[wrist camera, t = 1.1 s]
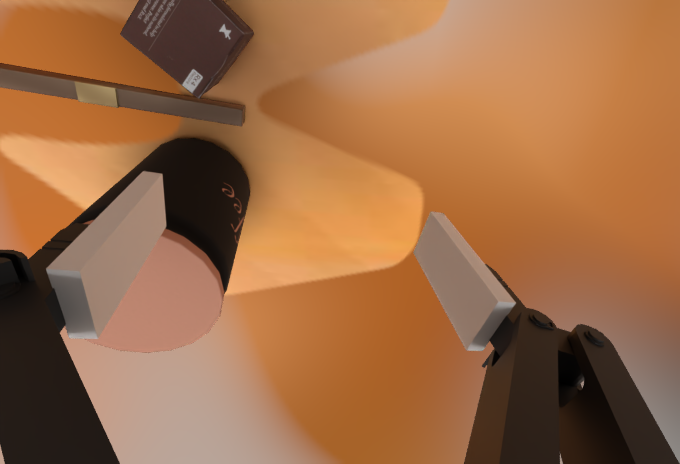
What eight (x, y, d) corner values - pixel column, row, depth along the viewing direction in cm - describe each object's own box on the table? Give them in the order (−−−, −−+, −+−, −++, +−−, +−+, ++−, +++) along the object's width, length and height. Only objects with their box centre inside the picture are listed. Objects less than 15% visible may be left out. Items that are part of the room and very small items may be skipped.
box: (195, -30, 26) (165, -49, 19) (256, 33, 28) (247, 33, 22) (155, 33, 27) (116, 33, 21) (216, 86, 30) (197, 100, 24)
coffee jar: (234, 236, 39) (198, 365, 24) (139, 205, 35) (25, 335, 20) (265, 160, 34) (245, 259, 19) (159, 115, 31) (33, 195, 16)
